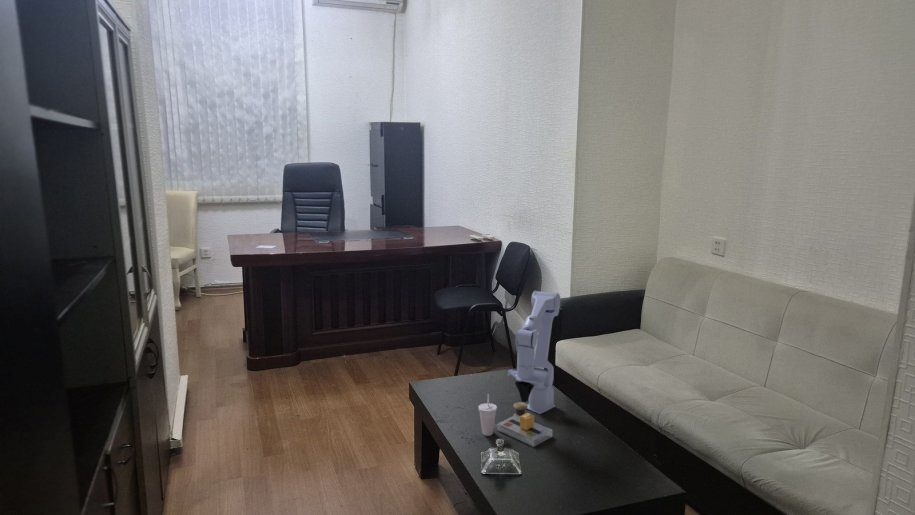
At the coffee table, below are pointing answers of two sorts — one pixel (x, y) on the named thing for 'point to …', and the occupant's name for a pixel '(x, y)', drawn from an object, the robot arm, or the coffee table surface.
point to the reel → (520, 408)
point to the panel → (525, 431)
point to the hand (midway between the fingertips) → (524, 401)
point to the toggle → (527, 421)
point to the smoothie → (487, 417)
